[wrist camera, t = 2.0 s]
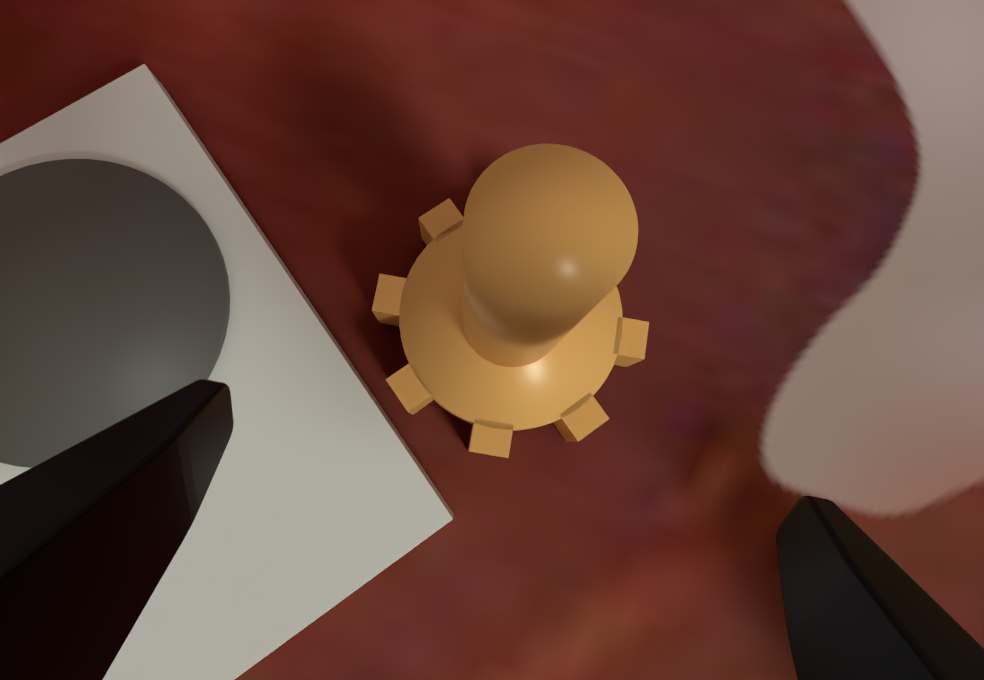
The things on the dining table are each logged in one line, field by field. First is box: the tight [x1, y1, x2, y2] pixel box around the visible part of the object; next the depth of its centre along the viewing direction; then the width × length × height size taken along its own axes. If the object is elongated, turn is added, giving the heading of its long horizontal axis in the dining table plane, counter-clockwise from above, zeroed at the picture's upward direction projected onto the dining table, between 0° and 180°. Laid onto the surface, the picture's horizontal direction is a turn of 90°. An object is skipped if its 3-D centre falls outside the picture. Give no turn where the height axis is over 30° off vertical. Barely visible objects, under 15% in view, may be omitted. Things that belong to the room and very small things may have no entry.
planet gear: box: [372, 144, 649, 458], centre depth 16 cm, size 9×9×10 cm
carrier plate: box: [0, 64, 453, 680], centre depth 17 cm, size 18×18×4 cm
